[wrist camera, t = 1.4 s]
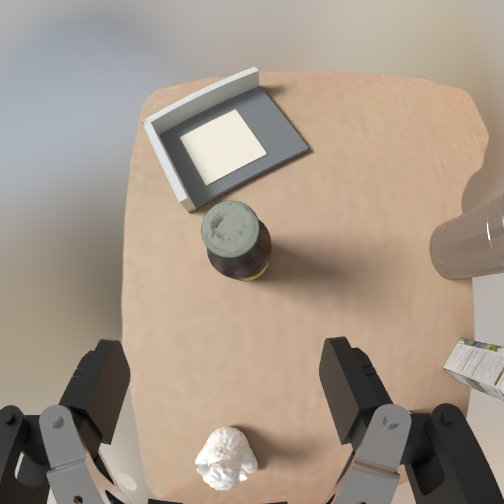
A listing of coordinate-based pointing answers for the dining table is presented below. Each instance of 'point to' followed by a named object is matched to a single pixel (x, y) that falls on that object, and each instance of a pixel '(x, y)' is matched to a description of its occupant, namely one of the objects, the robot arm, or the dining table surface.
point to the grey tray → (221, 138)
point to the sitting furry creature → (226, 459)
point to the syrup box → (478, 366)
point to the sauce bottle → (236, 241)
